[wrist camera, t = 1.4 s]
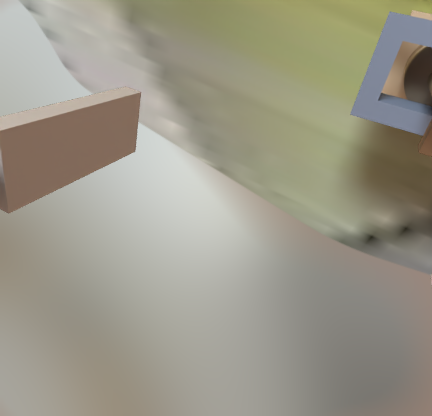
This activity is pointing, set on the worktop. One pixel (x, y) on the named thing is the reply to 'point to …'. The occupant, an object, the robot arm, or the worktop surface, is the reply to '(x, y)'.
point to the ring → (379, 70)
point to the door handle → (413, 79)
